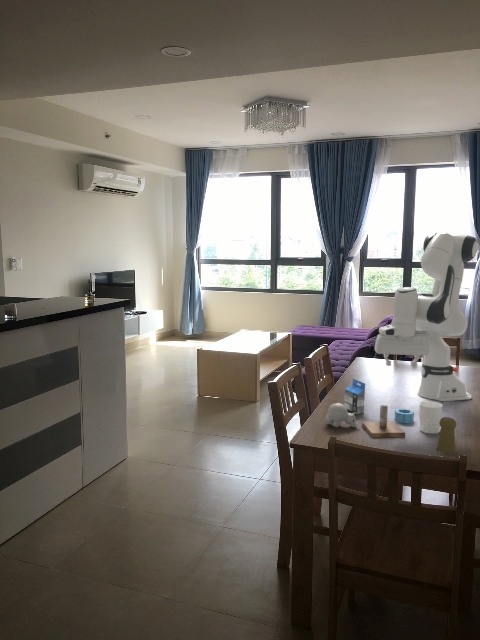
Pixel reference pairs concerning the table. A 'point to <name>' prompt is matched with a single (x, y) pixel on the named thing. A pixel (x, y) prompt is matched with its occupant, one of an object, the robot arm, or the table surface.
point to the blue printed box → (355, 397)
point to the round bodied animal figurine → (340, 415)
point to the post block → (383, 426)
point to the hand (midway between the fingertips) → (400, 365)
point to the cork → (447, 436)
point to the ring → (404, 415)
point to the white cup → (430, 416)
